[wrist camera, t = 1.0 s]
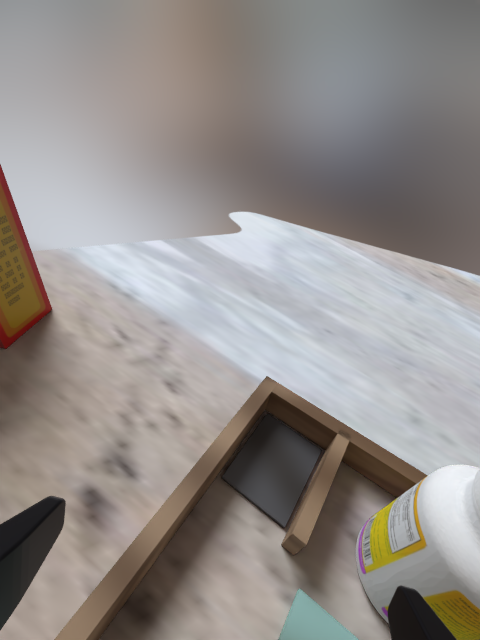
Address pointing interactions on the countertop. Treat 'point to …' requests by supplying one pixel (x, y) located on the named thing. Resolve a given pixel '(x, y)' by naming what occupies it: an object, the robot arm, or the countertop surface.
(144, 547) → the wooden compartment box
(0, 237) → the baking soda box
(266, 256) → the countertop surface
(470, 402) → the countertop surface
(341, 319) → the countertop surface
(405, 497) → the supplement bottle
